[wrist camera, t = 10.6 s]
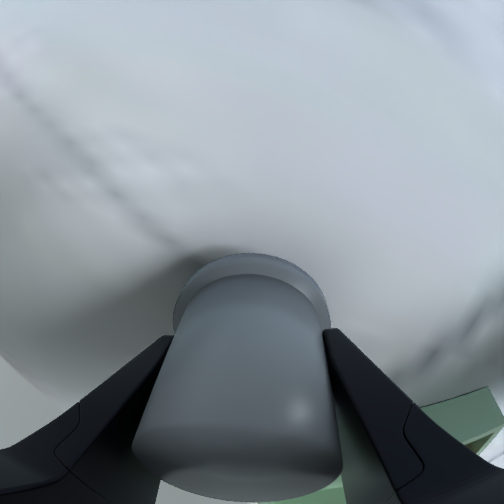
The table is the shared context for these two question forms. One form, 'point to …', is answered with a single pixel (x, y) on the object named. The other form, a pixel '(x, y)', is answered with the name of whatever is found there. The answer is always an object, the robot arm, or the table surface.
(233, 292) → the grey domed knob
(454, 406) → the parts tray
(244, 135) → the table surface
